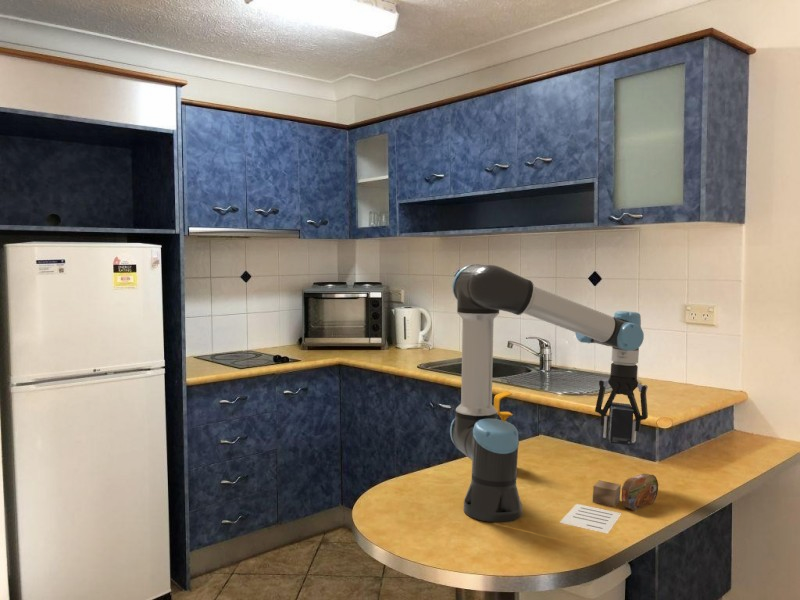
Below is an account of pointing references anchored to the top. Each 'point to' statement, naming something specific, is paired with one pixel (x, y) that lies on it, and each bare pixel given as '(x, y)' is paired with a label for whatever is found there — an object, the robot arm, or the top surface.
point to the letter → (591, 518)
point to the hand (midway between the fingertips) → (619, 439)
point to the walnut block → (606, 493)
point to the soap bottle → (497, 405)
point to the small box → (620, 423)
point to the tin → (639, 491)
